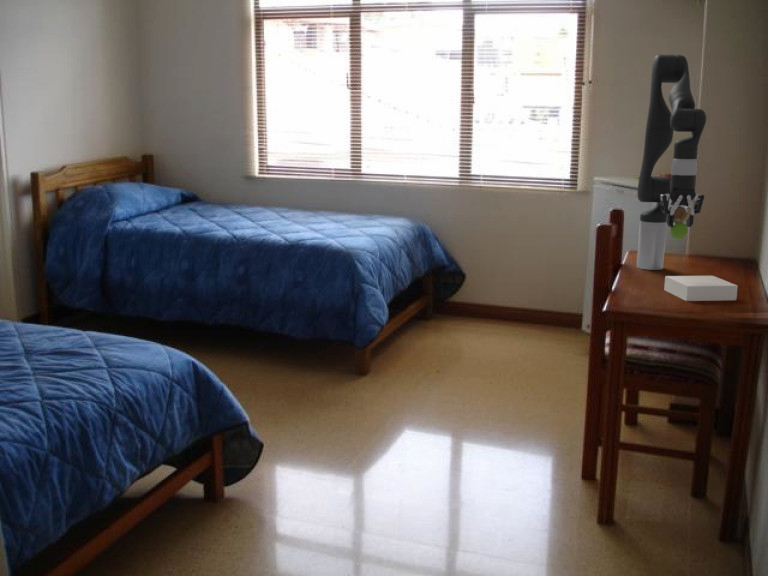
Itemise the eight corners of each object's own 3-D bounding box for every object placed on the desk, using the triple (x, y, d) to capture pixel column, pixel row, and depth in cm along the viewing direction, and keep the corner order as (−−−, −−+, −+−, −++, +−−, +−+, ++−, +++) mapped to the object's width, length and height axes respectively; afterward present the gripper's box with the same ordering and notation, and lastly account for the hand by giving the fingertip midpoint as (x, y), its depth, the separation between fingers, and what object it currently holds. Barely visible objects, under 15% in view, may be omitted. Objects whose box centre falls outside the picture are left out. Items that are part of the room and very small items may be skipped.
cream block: (664, 291, 265) (665, 276, 264) (711, 290, 267) (712, 275, 266) (686, 302, 250) (687, 286, 249) (736, 301, 251) (737, 285, 250)
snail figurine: (691, 240, 258) (693, 202, 255) (670, 239, 259) (672, 202, 257) (689, 237, 263) (691, 200, 261) (668, 237, 264) (670, 200, 262)
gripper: (700, 172, 261) (695, 225, 265) (656, 172, 260) (653, 225, 264) (711, 174, 254) (706, 228, 257) (666, 174, 253) (662, 228, 256)
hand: (679, 226), depth 260 cm, fingers closed on snail figurine, 5 cm apart
